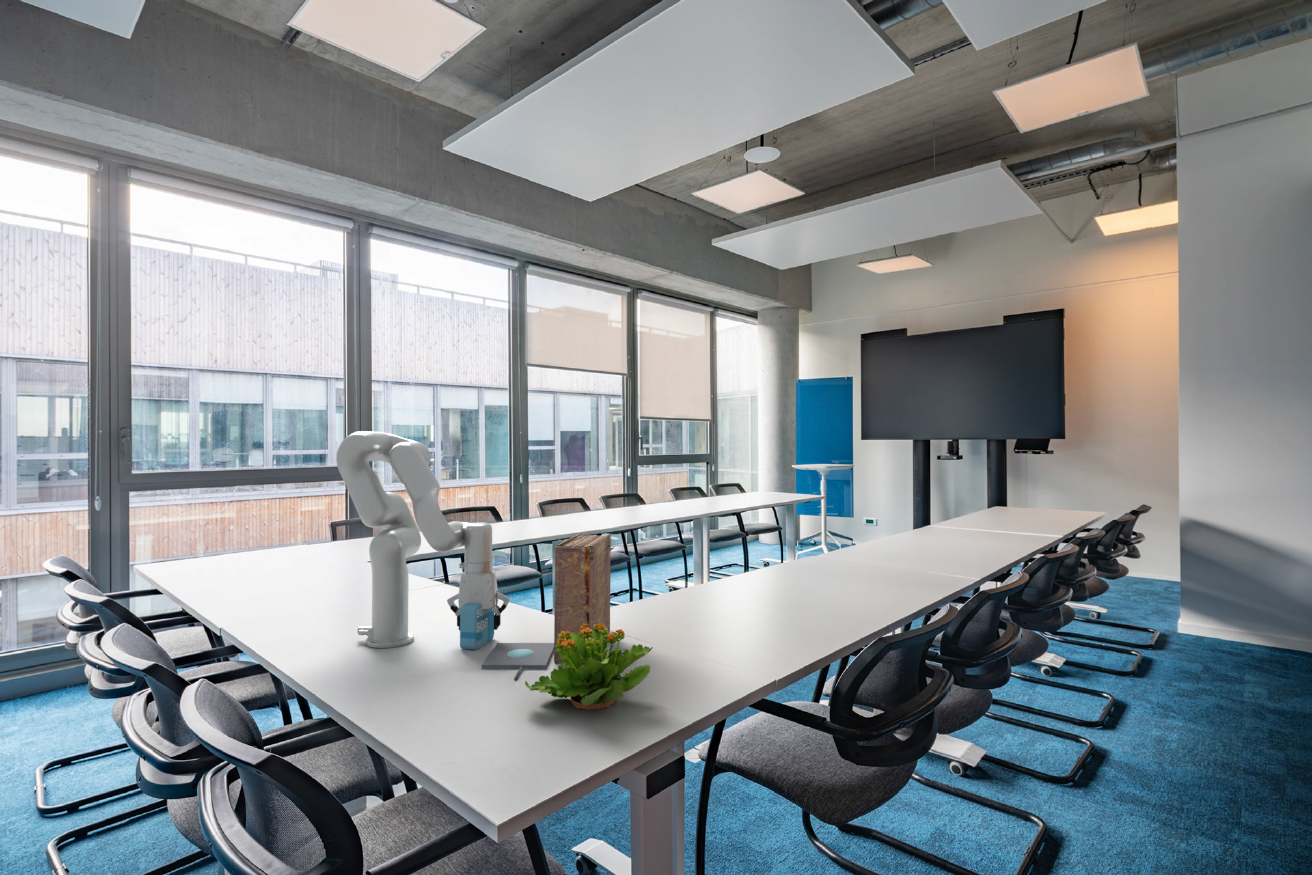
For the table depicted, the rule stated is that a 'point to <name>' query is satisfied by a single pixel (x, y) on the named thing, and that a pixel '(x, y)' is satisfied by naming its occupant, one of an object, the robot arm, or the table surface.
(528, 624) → the table surface
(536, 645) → the charging mat
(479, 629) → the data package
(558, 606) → the book
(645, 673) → the potted flower
